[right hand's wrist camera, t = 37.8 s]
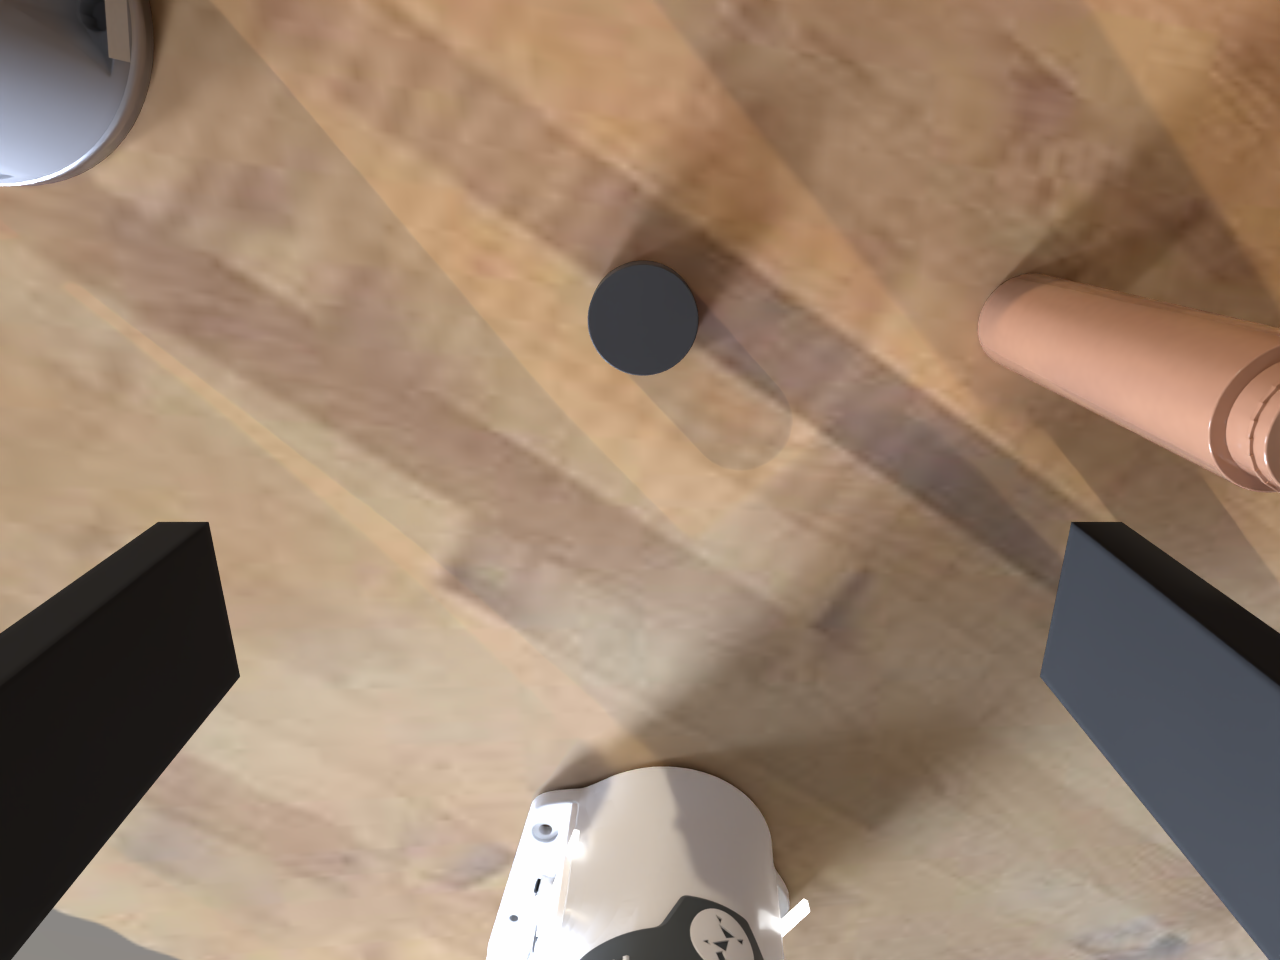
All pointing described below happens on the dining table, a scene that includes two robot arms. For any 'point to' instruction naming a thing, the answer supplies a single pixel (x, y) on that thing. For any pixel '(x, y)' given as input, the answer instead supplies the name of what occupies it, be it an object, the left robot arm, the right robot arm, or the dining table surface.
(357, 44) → the dining table surface
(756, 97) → the dining table surface
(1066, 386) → the jar
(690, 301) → the lid
